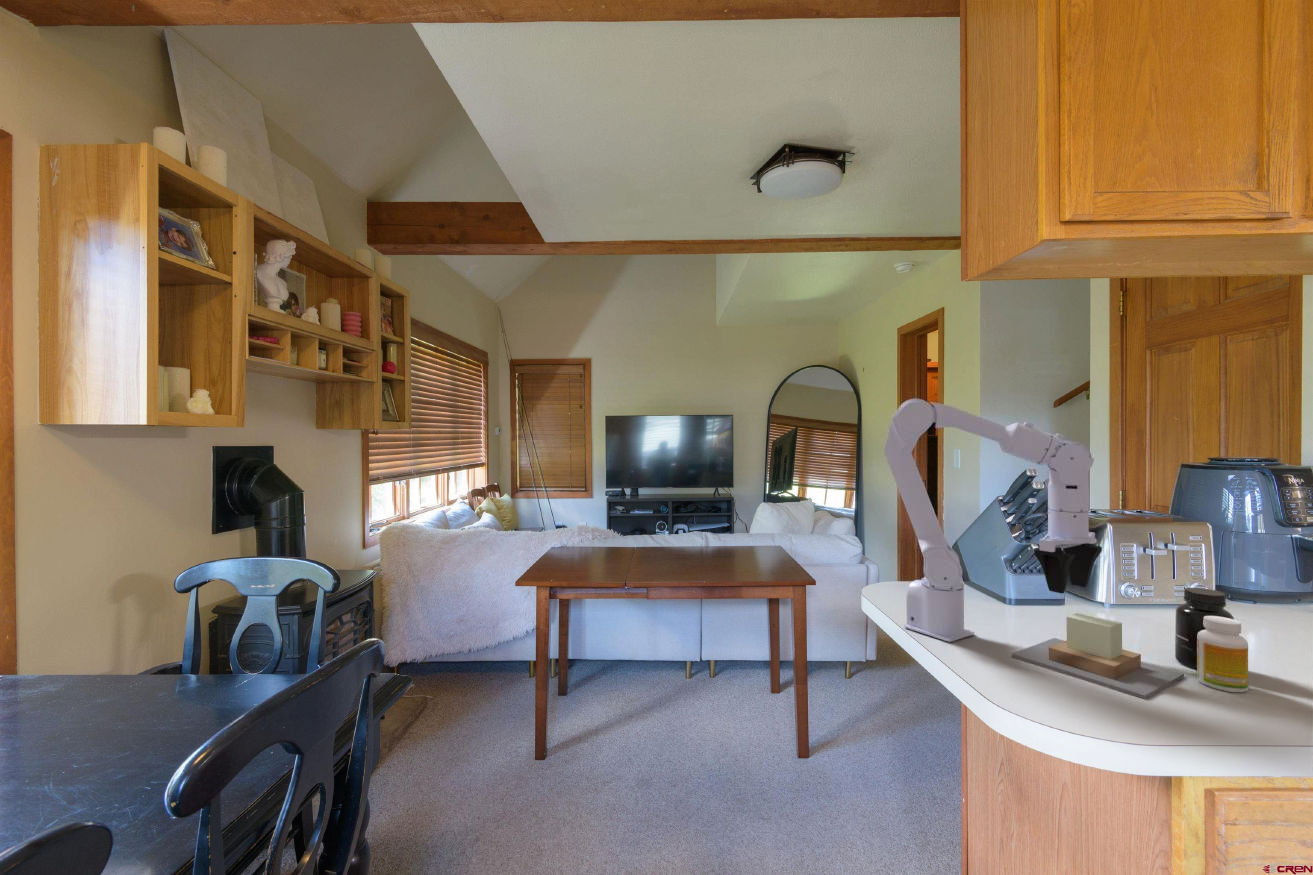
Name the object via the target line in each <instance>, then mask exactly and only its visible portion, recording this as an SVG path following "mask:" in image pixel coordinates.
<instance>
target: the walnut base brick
mask: <svg viewBox="0 0 1313 875" xmlns="http://www.w3.org/2000/svg"><path fill="white" fill-rule="evenodd" d="M1063 641H1064V642H1061V643H1059V644H1056V645H1054V646H1051V647H1049V660H1052V661H1055V662H1058V663H1061V664H1065V665H1068V666H1071V667H1074V668H1078V669H1081V670H1084V671H1087V672H1091V673H1094V674H1097V675H1101V676H1104V677H1107V678H1110V679H1114V680H1115V679H1117V678H1120V677H1122V676H1124V675H1126V674H1128V673H1130V672H1132V671H1134V670H1136V669H1138V668H1140V667H1141V662H1142V654H1141V653H1137V652H1134V651H1130V650H1126V649H1123V648H1122V655H1120V656H1118V657H1115V658H1113V659H1111V660H1110V659H1106V658H1103V657H1099V656H1096V655H1092V654H1089V653H1085V652H1081V651H1078V650H1074V649H1071V648H1067V640H1063Z"/></svg>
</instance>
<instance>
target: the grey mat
mask: <svg viewBox="0 0 1313 875" xmlns="http://www.w3.org/2000/svg"><path fill="white" fill-rule="evenodd" d="M1064 641H1065V640H1063V639H1059V638H1056V637H1052V638H1050V639H1047V640H1045V641H1042V642H1039V643H1037V644H1034V645H1032V646H1029V647H1028V646H1027V647H1026V648H1023V649H1020V650H1018V651H1015V652H1013V653H1011V657H1012V658H1015V659H1018V660H1021V661H1024V662H1028V663H1030V664H1034V665H1035V666H1036V665H1037V666H1038V667H1039V666H1040V667H1043V668H1046V669H1050V670H1053V671H1055V672H1059V673H1062V674H1065V675H1068V676H1070V677H1074V678H1077V679H1081V680H1084V681H1088V682H1090V683H1094V684H1097V685H1099V686H1103V687H1106V688H1108V689H1112V690H1115V689H1116V690H1115V691H1118V692H1122V693H1125V694H1128V695H1130V696H1134V697H1137V698H1139V699H1143V700H1146V699H1148V698H1150V697H1152V696H1153V695H1155V694H1157V693H1159V692H1160V691H1163V689H1165V688H1167V687H1169V686H1171V685H1173V684H1175V683H1176V682H1178V681H1180V680H1181V679H1183V678H1185V673H1183V672H1179V671H1176V670H1172V669H1168V668H1165V667H1161V666H1158V665H1154V664H1152V663H1147V662H1144V661H1141V667H1140V668H1138V669H1136V670H1134V671H1132V672H1130V673H1128V674H1126V675H1124V676H1122V677H1120V678H1117V679H1115V680H1114V679H1110V678H1107V677H1104V676H1101V675H1097V674H1094V673H1091V672H1087V671H1084V670H1081V669H1078V668H1074V667H1071V666H1068V665H1065V664H1061V663H1058V662H1055V661H1052V660H1049V647H1051V646H1054V645H1056V644H1059V643H1061V642H1064Z"/></svg>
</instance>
